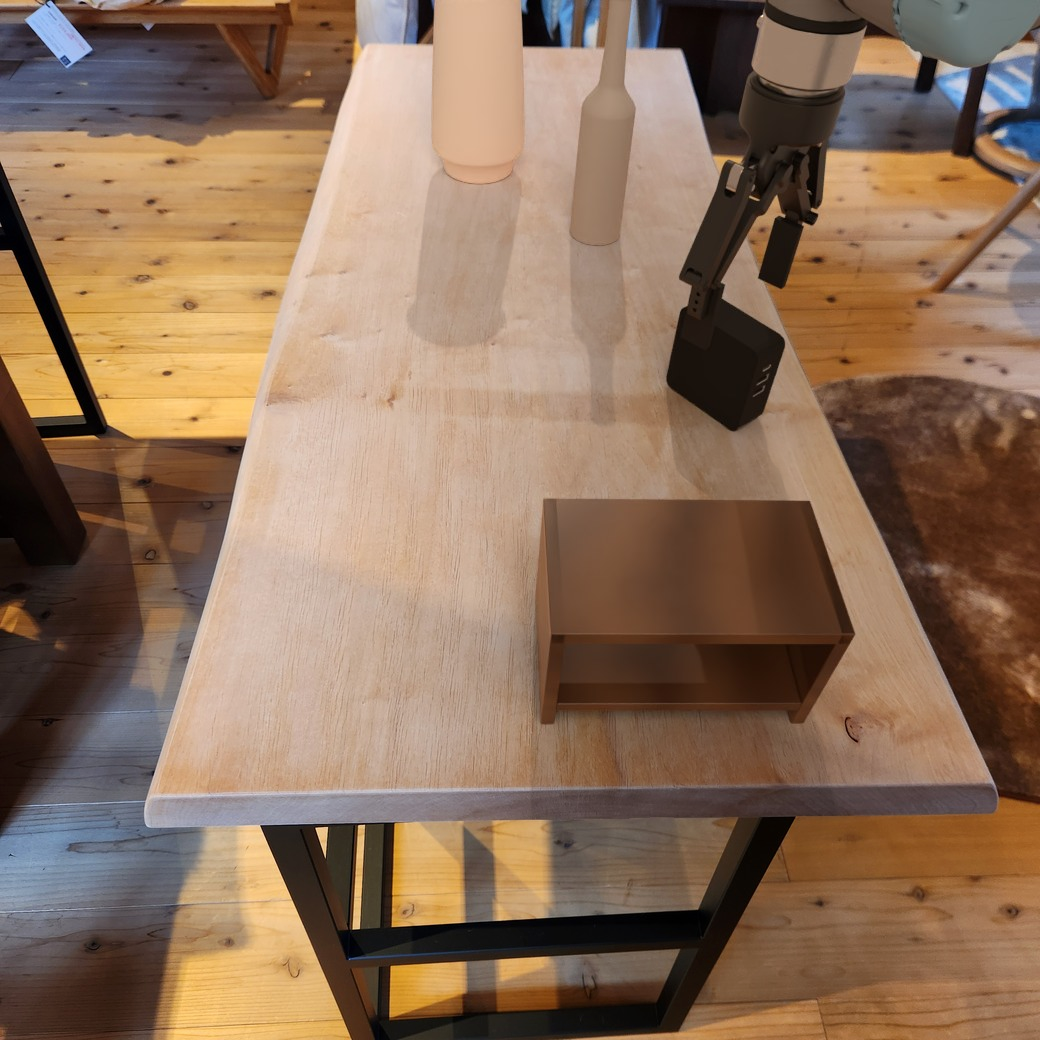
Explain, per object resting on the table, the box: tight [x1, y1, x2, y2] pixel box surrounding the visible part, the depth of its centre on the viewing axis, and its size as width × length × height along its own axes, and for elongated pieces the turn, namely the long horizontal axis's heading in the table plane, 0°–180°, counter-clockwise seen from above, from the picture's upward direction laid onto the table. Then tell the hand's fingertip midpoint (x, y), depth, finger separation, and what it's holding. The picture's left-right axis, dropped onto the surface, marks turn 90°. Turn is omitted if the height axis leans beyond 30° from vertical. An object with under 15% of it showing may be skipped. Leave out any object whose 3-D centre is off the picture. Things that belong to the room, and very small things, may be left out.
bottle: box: [569, 0, 637, 246], centre depth 101 cm, size 7×7×28 cm
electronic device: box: [665, 298, 786, 432], centre depth 86 cm, size 4×10×10 cm, turn 39°
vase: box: [430, 0, 526, 185], centre depth 112 cm, size 13×13×28 cm
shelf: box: [535, 497, 856, 725], centre depth 63 cm, size 20×12×12 cm, turn 91°
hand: (734, 311), depth 81 cm, fingers open, 13 cm apart
